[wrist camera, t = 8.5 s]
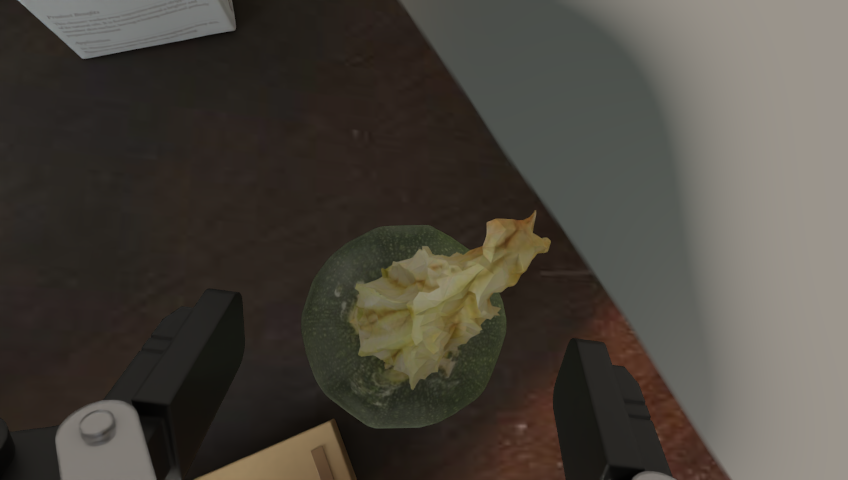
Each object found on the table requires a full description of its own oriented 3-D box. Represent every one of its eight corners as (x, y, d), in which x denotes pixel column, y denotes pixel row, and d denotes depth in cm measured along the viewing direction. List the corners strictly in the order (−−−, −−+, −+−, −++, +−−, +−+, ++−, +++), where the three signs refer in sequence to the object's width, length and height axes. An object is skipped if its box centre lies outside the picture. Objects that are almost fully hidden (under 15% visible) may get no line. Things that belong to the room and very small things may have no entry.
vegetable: (354, 406, 25) (181, 510, 5) (349, 308, 26) (189, 93, 6) (454, 397, 25) (640, 466, 5) (445, 301, 26) (576, 72, 7)
